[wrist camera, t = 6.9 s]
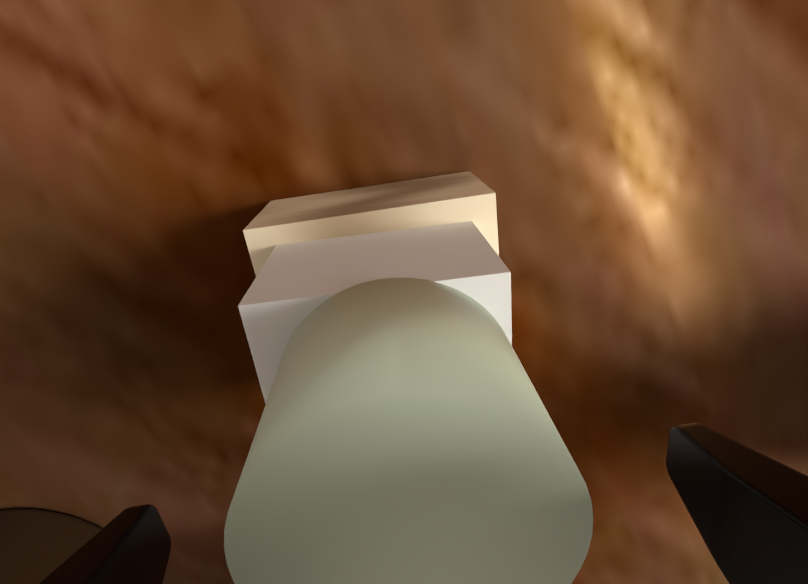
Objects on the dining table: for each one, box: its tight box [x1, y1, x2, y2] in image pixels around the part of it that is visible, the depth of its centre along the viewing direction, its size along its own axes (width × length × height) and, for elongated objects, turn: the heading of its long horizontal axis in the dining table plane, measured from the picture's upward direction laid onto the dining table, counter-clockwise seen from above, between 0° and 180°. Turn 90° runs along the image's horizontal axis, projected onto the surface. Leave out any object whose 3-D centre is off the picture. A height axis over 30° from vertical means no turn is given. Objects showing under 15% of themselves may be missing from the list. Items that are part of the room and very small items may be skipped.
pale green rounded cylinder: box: [224, 278, 593, 584], centre depth 8 cm, size 5×5×4 cm
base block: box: [243, 171, 499, 277], centre depth 16 cm, size 7×7×4 cm
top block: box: [238, 221, 512, 404], centre depth 12 cm, size 6×6×4 cm
